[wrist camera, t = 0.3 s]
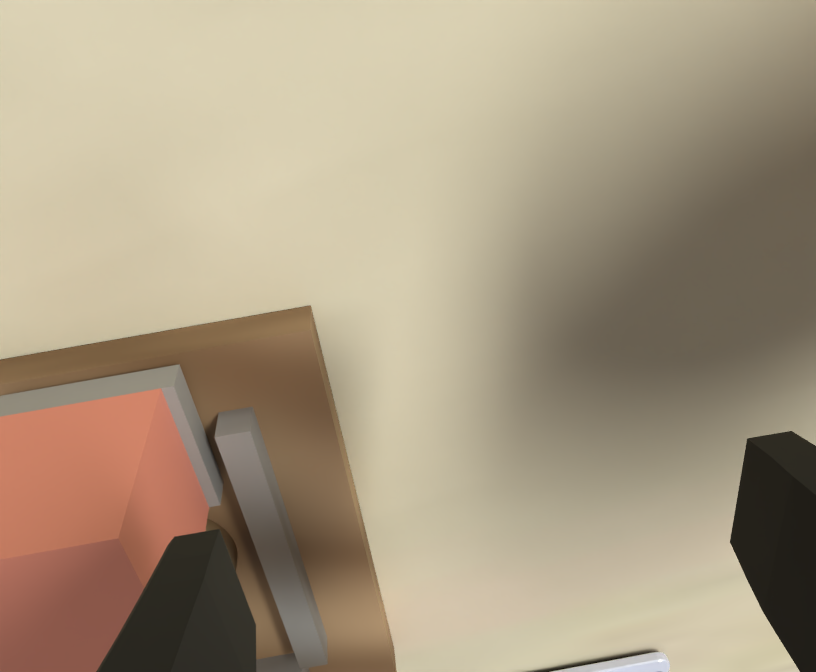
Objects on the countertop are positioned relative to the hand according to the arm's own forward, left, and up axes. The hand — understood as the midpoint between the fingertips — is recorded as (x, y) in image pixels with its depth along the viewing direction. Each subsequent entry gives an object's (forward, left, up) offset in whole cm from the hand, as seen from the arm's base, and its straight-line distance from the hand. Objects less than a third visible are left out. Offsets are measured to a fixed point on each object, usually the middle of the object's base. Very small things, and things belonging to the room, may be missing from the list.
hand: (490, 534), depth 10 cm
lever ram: (-4, +8, -8) cm, 12 cm away
